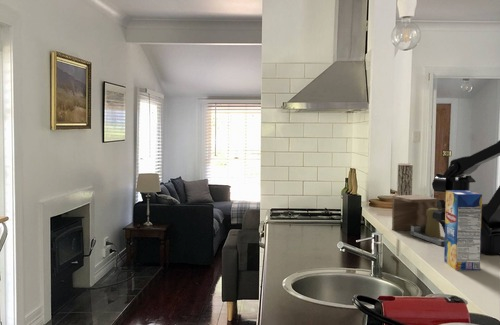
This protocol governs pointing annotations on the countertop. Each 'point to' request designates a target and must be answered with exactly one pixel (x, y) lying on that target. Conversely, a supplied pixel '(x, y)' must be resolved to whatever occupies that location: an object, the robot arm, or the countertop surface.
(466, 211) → the beverage box
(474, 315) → the countertop surface
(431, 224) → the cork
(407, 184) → the bark textured block
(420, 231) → the grey brown long block
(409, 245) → the countertop surface
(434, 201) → the spice cubby
